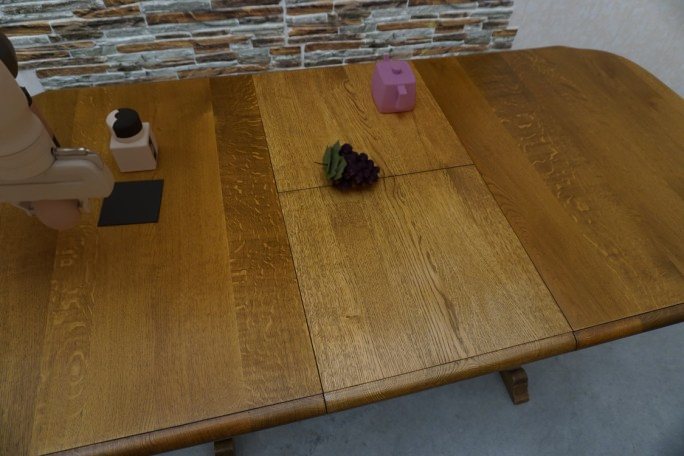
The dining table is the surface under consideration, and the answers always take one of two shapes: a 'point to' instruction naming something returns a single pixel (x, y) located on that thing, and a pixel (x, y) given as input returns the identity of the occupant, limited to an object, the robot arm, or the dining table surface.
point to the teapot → (393, 86)
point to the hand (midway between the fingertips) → (61, 211)
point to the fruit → (348, 167)
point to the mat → (132, 203)
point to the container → (131, 141)
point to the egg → (58, 213)
